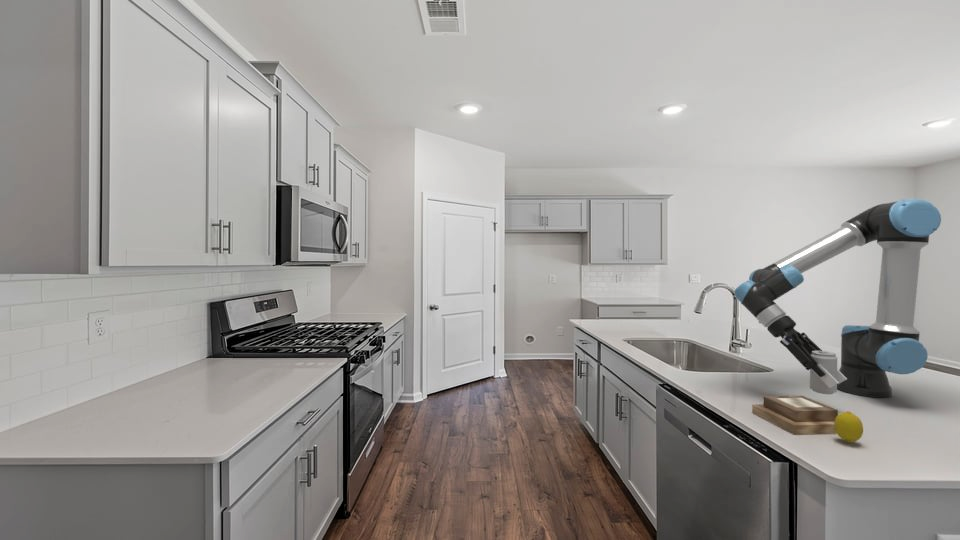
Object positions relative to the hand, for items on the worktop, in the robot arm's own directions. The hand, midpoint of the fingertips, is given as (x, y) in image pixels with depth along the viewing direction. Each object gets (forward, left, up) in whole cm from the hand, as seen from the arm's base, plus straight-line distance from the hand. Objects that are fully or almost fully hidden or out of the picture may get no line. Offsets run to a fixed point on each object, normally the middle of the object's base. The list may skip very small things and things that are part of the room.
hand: (838, 383), depth 126 cm
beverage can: (+2, -3, -4) cm, 5 cm away
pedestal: (+15, +4, -10) cm, 19 cm away
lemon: (+14, +17, -10) cm, 24 cm away
